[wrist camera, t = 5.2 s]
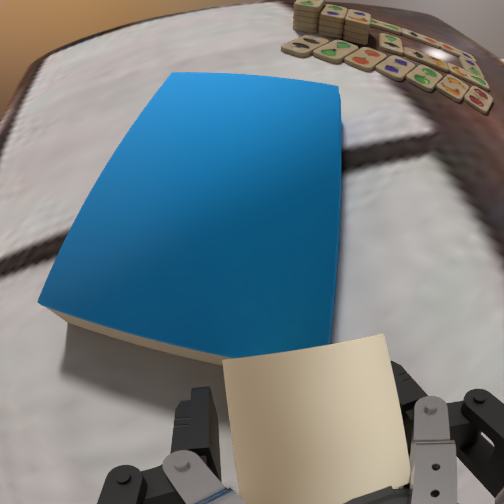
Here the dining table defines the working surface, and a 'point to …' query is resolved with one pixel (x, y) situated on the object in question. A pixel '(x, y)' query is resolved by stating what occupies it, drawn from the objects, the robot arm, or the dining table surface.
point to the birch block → (316, 423)
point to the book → (212, 222)
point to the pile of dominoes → (357, 30)
